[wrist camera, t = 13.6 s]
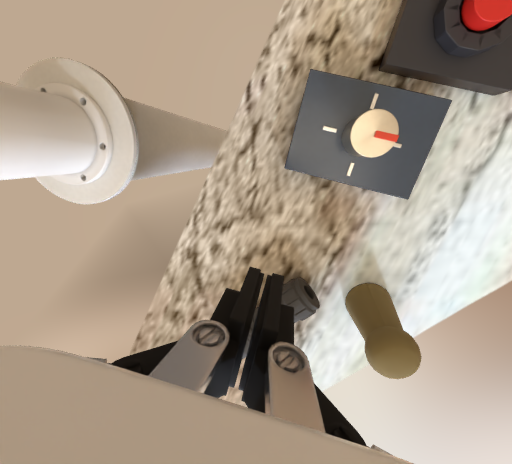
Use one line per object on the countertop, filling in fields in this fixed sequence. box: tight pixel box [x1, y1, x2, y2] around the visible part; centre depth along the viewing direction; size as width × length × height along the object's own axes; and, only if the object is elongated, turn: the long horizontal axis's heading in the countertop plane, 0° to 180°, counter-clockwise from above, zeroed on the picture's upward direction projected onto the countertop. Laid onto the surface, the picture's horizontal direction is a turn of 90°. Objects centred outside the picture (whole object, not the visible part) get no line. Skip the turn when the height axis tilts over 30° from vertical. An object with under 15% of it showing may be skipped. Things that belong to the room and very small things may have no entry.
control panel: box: [285, 69, 452, 199], centre depth 27 cm, size 14×10×3 cm
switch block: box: [379, 0, 512, 95], centre depth 23 cm, size 12×10×4 cm
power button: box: [461, 0, 512, 31], centre depth 20 cm, size 4×4×2 cm
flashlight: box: [242, 277, 320, 359], centre depth 35 cm, size 15×5×5 cm, turn 132°
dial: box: [342, 109, 399, 158], centre depth 24 cm, size 4×4×5 cm
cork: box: [345, 283, 421, 379], centre depth 30 cm, size 6×6×11 cm
